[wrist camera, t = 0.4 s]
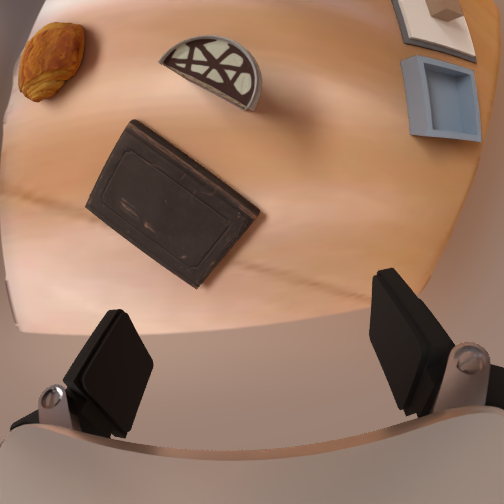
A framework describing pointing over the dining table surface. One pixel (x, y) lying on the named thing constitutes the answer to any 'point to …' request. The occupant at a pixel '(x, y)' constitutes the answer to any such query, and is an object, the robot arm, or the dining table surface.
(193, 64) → the food container
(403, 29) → the mat
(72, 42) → the croissant
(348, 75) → the dining table surface
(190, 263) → the hardcover book
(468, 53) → the lid
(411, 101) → the dish
